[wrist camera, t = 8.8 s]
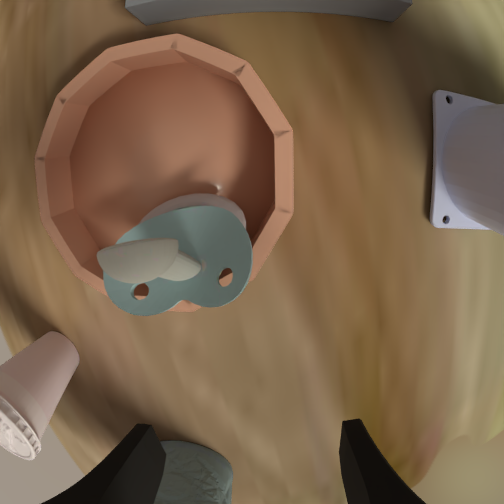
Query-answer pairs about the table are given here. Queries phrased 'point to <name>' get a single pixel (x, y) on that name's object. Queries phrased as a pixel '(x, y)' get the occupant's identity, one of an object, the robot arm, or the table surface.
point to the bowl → (161, 149)
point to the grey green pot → (194, 475)
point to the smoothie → (33, 391)
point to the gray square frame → (262, 8)
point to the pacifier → (180, 256)
